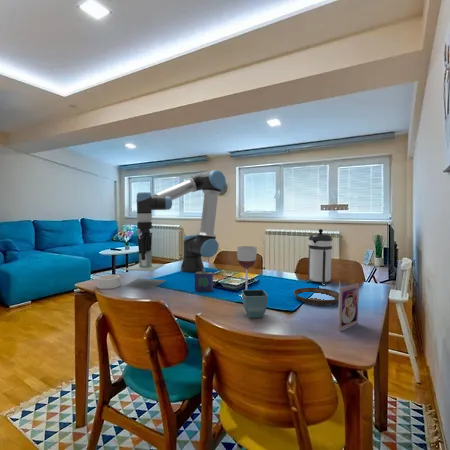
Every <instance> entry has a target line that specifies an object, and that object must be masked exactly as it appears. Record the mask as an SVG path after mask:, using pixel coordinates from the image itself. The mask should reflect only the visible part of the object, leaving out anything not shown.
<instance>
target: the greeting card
mask: <svg viewBox="0 0 450 450" xmlns="http://www.w3.org/2000/svg"><path fill="white" fill-rule="evenodd" d="M338 281H339V282H338V293H339V300H338V308H337V310H338V311H337V312H338V313H337V315H338V316H337V322H338V323H339V324H338V330H341V331H343V330H342V329H344V328H346V327H349V326H351V325H354V324H356V323H359V300H360V299H359V296H360V294H359V293H360V283H359V282H357V283H354V284H350V285H346V286H342V287H341V281H340V280H338ZM356 325H357V324H356ZM354 326H355V325H354ZM351 327H352V326H351ZM349 328H350V327H349ZM346 329H347V328H346ZM344 330H345V329H344Z"/></svg>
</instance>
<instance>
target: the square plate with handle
mask: <svg viewBox="0 0 450 450" xmlns="http://www.w3.org/2000/svg"><path fill="white" fill-rule="evenodd" d="M152 252H153V251H152V250H151V251H146V254H147V266H142V261H141V254H139V253H138V260H139V261H138V263H136V264H134V265H132V266H129V267H127V268H125V271H137V272H139V271H140V272H143V271H144V272H154V271H156V270H158V269H160V268H162V267H163V266H165V263H153V262H152V261H153V256H152V255H153V254H152Z"/></svg>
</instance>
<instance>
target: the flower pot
mask: <svg viewBox="0 0 450 450" xmlns="http://www.w3.org/2000/svg"><path fill="white" fill-rule="evenodd" d="M241 294H242V299H241V300H242V304H243V308H244V310H245V313H246V315H247V317H248V318H250V319H251V318H253V319H254V318H263V316H264V315H265V313H266V311H267V305H268V298H269V295H268V294H267V292H266V291H265V290H264V289H247V290H245V289H242V290H241Z"/></svg>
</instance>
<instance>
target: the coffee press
mask: <svg viewBox="0 0 450 450" xmlns="http://www.w3.org/2000/svg"><path fill="white" fill-rule="evenodd" d="M333 240H334V239H333V237H332V236H331V234H328V233H323V229H322V228H319V229H318V232H317V233H312V234H310V235H309V236H308V263H307V265H308V266H307V268H308V269H307V278H306V280H305V282H306V281H307V282H308V281H310V282H315V283H316V282H318V283H321V284H322V283H323V284H326V283H327V282H329V283H331V282H332V283H333V282H334V281H333V279H332V254H333V253H332V252H333V251H332V250H333ZM326 285H327V284H326Z"/></svg>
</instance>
